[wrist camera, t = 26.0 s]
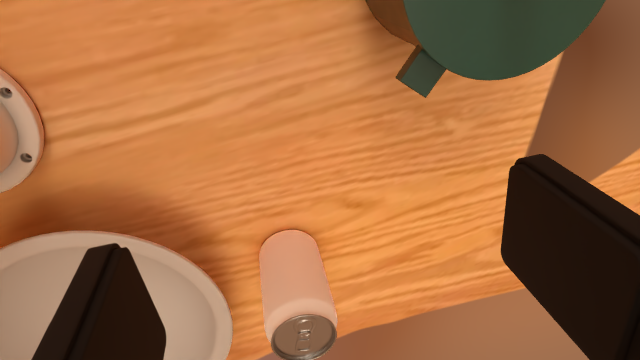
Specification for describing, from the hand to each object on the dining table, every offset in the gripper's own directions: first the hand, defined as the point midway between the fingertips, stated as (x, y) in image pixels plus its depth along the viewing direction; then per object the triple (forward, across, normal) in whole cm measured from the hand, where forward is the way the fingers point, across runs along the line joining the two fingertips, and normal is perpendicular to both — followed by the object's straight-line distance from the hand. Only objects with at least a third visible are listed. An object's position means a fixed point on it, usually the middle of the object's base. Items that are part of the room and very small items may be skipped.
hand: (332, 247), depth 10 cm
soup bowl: (+28, +20, +22) cm, 41 cm away
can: (+28, +2, +22) cm, 36 cm away
